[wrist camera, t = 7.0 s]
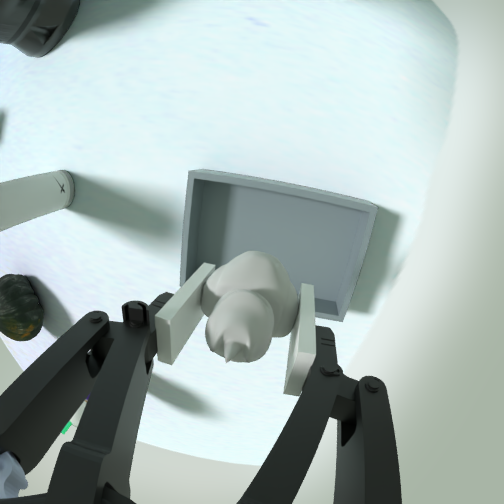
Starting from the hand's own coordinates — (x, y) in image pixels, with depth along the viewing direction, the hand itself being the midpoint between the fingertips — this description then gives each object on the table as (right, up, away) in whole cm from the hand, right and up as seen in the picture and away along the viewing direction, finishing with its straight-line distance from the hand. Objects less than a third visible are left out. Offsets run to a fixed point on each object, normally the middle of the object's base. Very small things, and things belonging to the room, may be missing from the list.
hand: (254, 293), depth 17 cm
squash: (-51, -8, +29) cm, 59 cm away
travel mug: (-30, +13, +18) cm, 37 cm away
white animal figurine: (0, 0, +1) cm, 1 cm away
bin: (+2, +4, +15) cm, 15 cm away
